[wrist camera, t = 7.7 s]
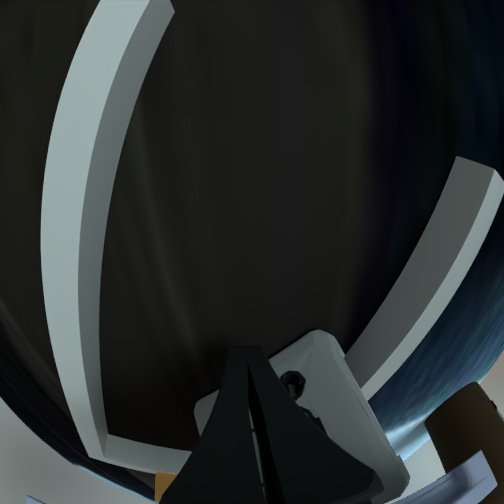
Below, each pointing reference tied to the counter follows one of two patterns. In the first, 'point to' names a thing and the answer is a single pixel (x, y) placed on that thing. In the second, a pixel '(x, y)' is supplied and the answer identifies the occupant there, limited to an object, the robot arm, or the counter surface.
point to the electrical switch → (330, 407)
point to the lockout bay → (95, 219)
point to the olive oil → (470, 434)
